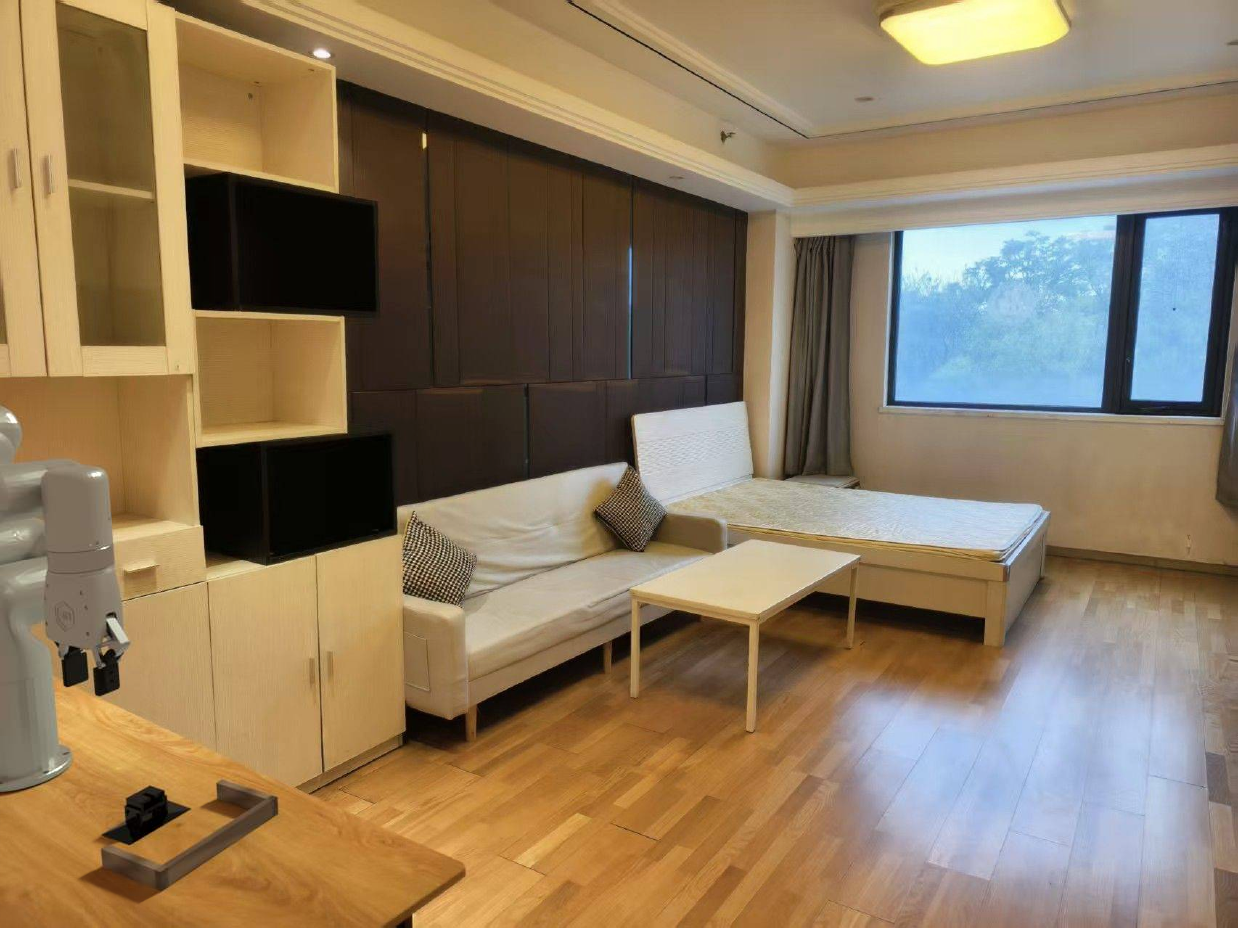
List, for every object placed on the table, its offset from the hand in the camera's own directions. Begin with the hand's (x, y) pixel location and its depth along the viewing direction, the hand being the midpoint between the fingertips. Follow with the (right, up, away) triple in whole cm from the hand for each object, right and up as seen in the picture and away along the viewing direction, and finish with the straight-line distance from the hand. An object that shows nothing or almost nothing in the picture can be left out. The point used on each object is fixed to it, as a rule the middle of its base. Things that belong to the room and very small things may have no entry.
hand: (91, 686), depth 115 cm
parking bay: (+16, -19, -4) cm, 25 cm away
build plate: (+8, -19, -1) cm, 20 cm away
